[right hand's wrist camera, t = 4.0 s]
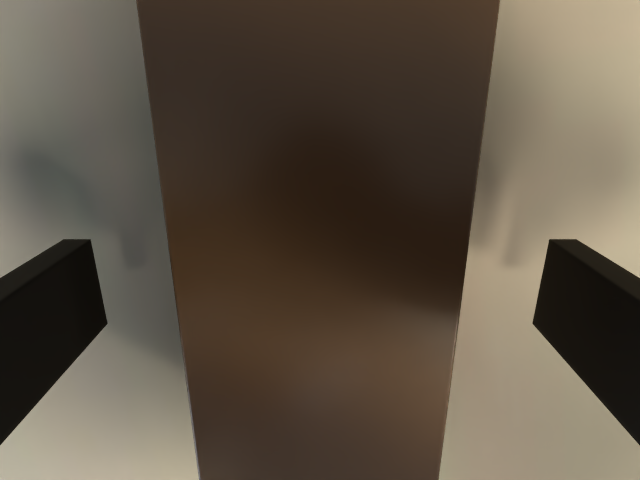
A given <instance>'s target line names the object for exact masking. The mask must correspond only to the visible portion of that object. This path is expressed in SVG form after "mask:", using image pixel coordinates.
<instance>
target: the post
mask: <svg viewBox="0 0 640 480" xmlns="http://www.w3.org/2000/svg"><path fill="white" fill-rule="evenodd" d="M136 2H137V9H138V17H139V25H140V32H141V40H142V47H143V55H144V63H145V70H146V78H147V86H148V93H149V101H150V108H151V116H152V124H153V131H154V139H155V147H156V154H157V162H158V169H159V177H160V185H161V192H162V200H163V208H164V215H165V223H166V230H167V238H168V246H169V253H170V261H171V269H172V276H173V284H174V291H175V299H176V307H177V314H178V322H179V330H180V337H181V345H182V352H183V360H184V368H185V375H186V383H187V391H188V398H189V406H190V413H191V421H192V429H193V436H194V444H195V451H196V459H197V467H198V474H199V480H438V479H439V471H440V463H441V455H442V448H443V440H444V432H445V424H446V417H447V409H448V401H449V393H450V385H451V378H452V370H453V362H454V354H455V346H456V339H457V331H458V323H459V315H460V308H461V300H462V292H463V284H464V276H465V269H466V261H467V253H468V245H469V237H470V230H471V222H472V214H473V206H474V198H475V191H476V183H477V175H478V167H479V160H480V152H481V144H482V136H483V128H484V121H485V113H486V105H487V97H488V89H489V82H490V74H491V66H492V58H493V51H494V43H495V35H496V27H497V19H498V12H499V4H500V0H136Z"/></svg>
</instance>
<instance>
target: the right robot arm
mask: <svg viewBox="0 0 640 480" xmlns="http://www.w3.org/2000/svg"><path fill="white" fill-rule="evenodd" d="M106 325H107V319H106V314H105V309H104V304H103V299H102V294H101V289H100V284H99V279H98V274H97V269H96V264H95V259H94V254H93V249H92V244H91V239H63V240H62V241H60V242H59V243H57V244H55V245H54V246H52V247H50V248H49V249H47V250H46V251H44V252H42V253H41V254H39V255H37V256H36V257H34V258H32V259H31V260H29V261H28V262H26V263H24V264H23V265H21V266H19V267H18V268H16V269H15V270H13V271H11V272H10V273H8V274H6V275H5V276H3V277H2V278H0V445H1V444H2V443H3V442H4V440H5V439H6V438H7V437H8V436H9V435H10V434H11V432H12V431H13V430H14V429H15V428H16V427H17V426H18V424H19V423H20V422H21V421H22V420H23V419H24V418H25V417H26V415H27V414H28V413H29V412H30V411H31V410H32V409H33V407H34V406H35V405H36V404H37V403H38V402H39V401H40V399H41V398H42V397H43V396H44V395H45V394H46V393H47V392H48V390H49V389H50V388H51V387H52V386H53V385H54V384H55V382H56V381H57V380H58V379H59V378H60V377H61V376H62V375H63V373H64V372H65V371H66V370H67V369H68V368H69V367H70V365H71V364H72V363H73V362H74V361H75V360H76V359H77V357H78V356H79V355H80V354H81V353H82V352H83V351H84V350H85V348H86V347H87V346H88V345H89V344H90V343H91V342H92V340H93V339H94V338H95V337H96V336H97V335H98V334H99V333H100V331H101V330H102V329H103V328H104V327H105V326H106ZM533 325H534V326H535V327H536V328H537V329H538V330H539V331H540V333H541V334H542V335H543V336H544V337H545V338H546V339H547V340H548V342H549V343H550V344H551V345H552V346H553V347H554V348H555V350H556V351H557V352H558V353H559V354H560V355H561V356H562V358H563V359H564V360H565V361H566V362H567V363H568V364H569V365H570V367H571V368H572V369H573V370H574V371H575V372H576V373H577V375H578V376H579V377H580V378H581V379H582V380H583V381H584V382H585V384H586V385H587V386H588V387H589V388H590V389H591V390H592V392H593V393H594V394H595V395H596V396H597V397H598V398H599V400H600V401H601V402H602V403H603V404H604V405H605V406H606V407H607V409H608V410H609V411H610V412H611V413H612V414H613V415H614V417H615V418H616V419H617V420H618V421H619V422H620V423H621V424H622V426H623V427H624V428H625V429H626V430H627V431H628V432H629V434H630V435H631V436H632V437H633V438H634V439H635V440H636V442H637V443H638V444H639V445H640V278H638V277H637V276H635V275H634V274H632V273H630V272H629V271H627V270H625V269H624V268H622V267H621V266H619V265H617V264H616V263H614V262H612V261H611V260H609V259H608V258H606V257H604V256H603V255H601V254H599V253H598V252H596V251H594V250H593V249H591V248H590V247H588V246H586V245H585V244H583V243H581V242H580V241H578V240H577V239H549V244H548V249H547V254H546V259H545V264H544V269H543V274H542V279H541V284H540V289H539V294H538V299H537V304H536V309H535V314H534V319H533Z"/></svg>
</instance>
